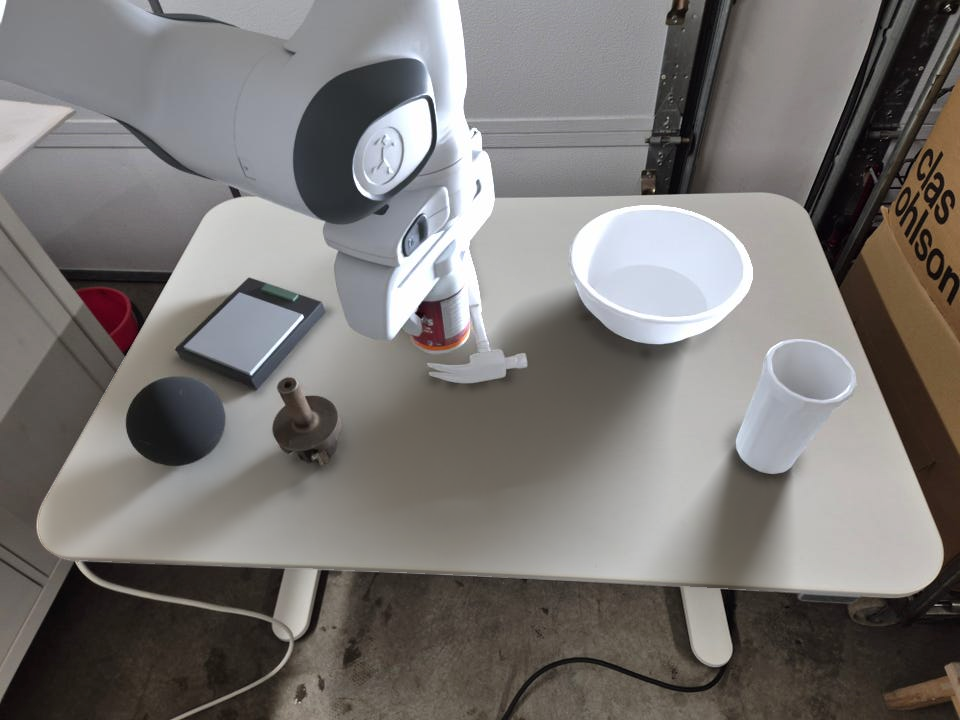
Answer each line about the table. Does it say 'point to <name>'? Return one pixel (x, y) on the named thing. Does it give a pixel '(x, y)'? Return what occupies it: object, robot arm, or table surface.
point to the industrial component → (306, 424)
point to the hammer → (478, 345)
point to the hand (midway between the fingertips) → (435, 304)
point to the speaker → (175, 421)
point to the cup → (792, 402)
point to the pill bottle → (445, 306)
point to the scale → (251, 332)
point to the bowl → (658, 272)
